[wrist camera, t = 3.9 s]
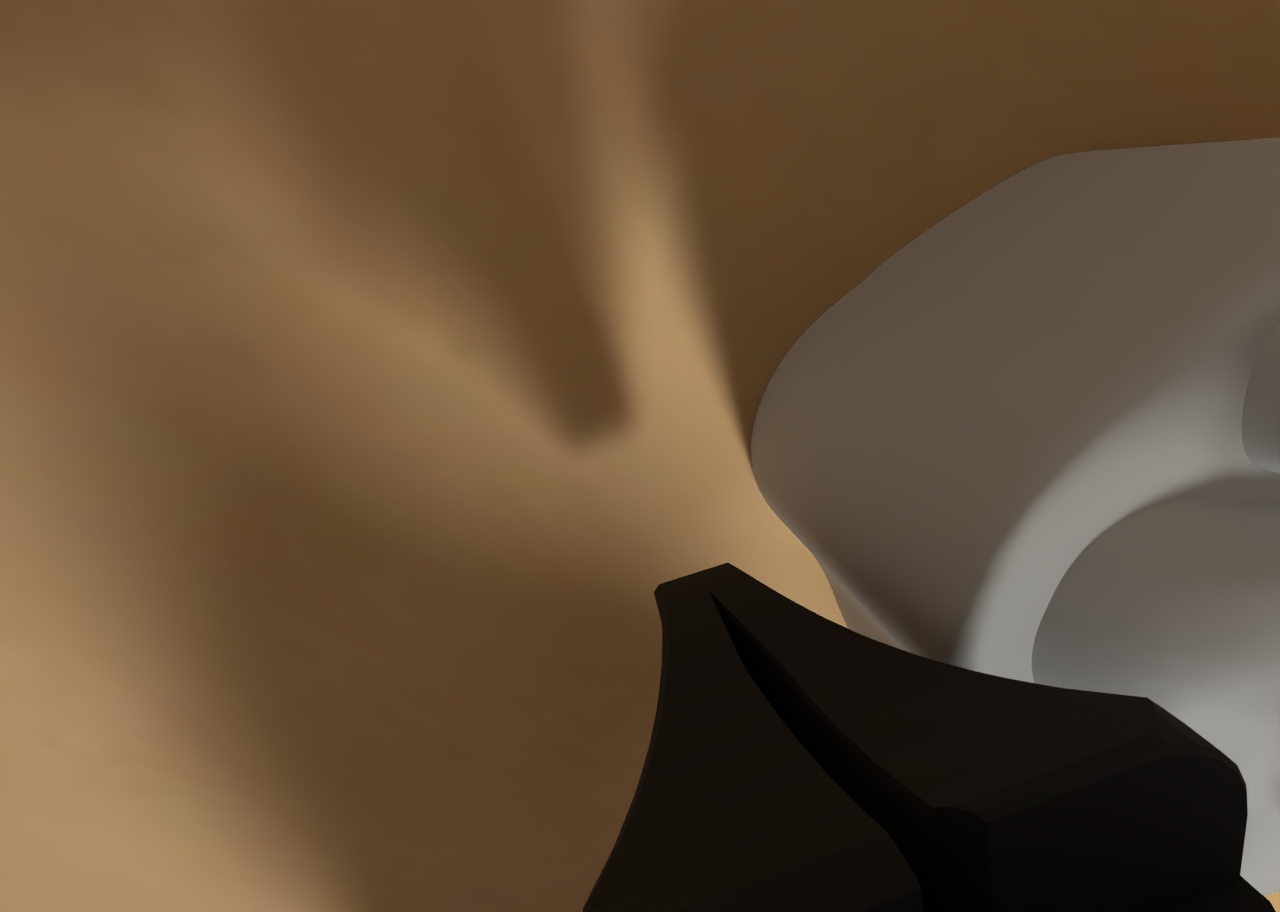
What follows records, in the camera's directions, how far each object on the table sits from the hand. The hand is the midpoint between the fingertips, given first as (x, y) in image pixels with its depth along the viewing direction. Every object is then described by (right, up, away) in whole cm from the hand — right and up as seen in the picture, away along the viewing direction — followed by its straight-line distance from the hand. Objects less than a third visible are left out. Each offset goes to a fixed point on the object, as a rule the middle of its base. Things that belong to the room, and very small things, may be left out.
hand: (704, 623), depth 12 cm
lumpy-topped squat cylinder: (+8, +4, +4) cm, 10 cm away
